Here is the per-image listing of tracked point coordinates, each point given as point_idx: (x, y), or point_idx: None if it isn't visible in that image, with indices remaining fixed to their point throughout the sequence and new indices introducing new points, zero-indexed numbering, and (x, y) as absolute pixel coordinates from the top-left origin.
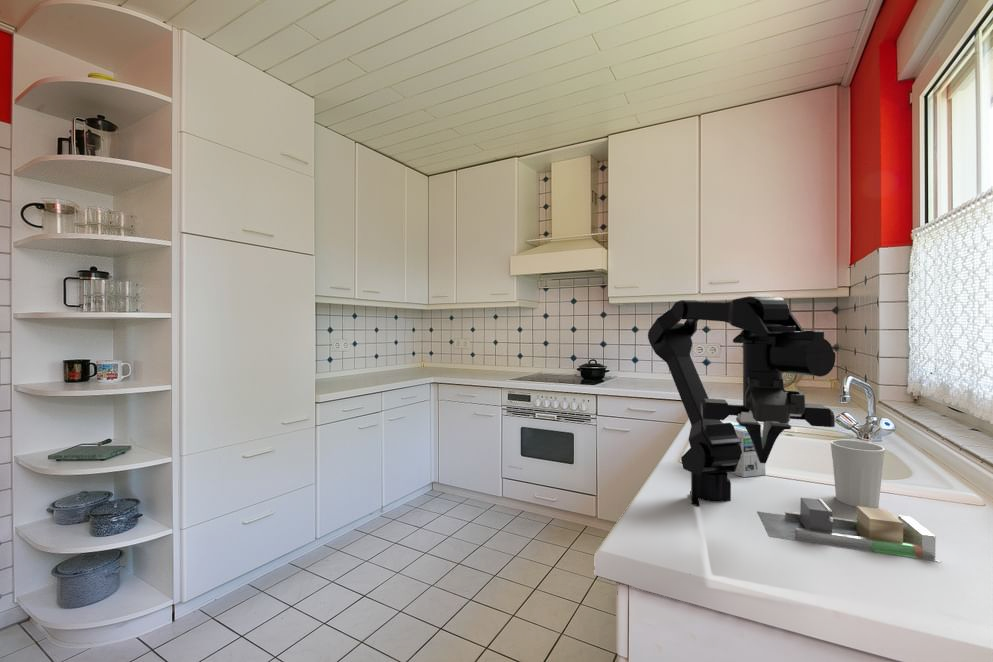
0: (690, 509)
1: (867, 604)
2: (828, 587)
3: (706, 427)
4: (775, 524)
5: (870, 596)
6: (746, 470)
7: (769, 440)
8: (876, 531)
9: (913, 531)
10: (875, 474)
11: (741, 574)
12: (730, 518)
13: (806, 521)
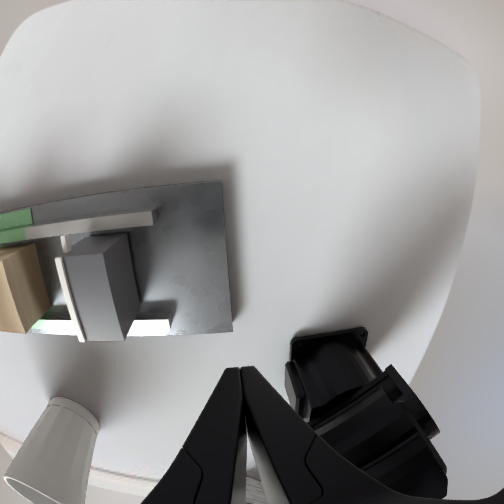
0: (371, 303)
1: (102, 20)
2: (144, 37)
3: (445, 485)
4: (197, 268)
5: (86, 47)
6: None
7: (208, 480)
8: (10, 252)
9: None
10: (24, 446)
11: (298, 21)
12: (293, 294)
13: (124, 265)
